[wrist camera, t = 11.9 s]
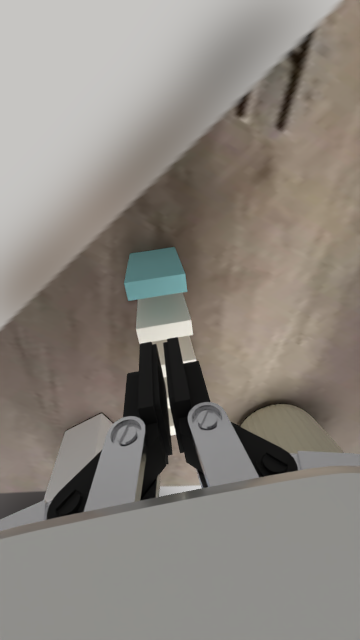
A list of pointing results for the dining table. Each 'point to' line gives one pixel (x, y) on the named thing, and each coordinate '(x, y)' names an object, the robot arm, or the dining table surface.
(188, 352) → the domino
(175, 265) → the domino
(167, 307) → the domino
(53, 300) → the dining table surface
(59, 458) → the milk carton
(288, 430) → the canister
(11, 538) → the robot arm
